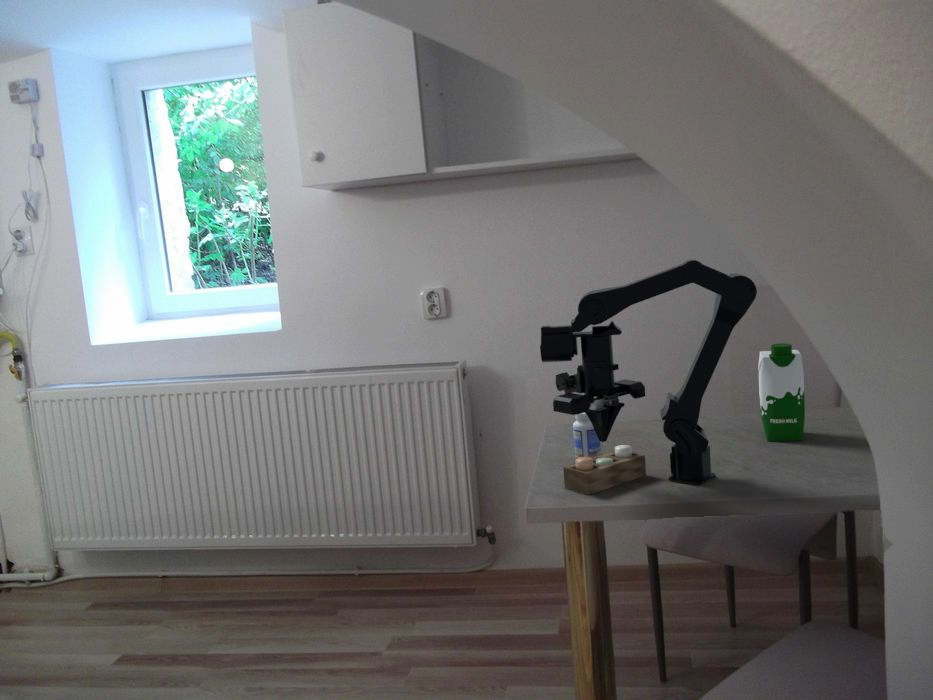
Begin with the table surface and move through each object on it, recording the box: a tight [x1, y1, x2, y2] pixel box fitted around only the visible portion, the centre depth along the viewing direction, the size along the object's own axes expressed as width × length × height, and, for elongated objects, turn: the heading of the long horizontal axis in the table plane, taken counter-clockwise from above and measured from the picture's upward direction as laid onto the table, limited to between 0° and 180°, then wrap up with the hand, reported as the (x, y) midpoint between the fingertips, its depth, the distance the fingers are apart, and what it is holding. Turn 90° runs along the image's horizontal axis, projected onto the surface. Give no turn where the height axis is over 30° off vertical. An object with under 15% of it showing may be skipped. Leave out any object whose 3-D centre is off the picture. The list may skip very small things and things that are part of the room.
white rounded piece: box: [614, 444, 633, 459], centre depth 161 cm, size 3×3×2 cm
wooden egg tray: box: [563, 450, 647, 496], centre depth 158 cm, size 15×6×4 cm, turn 125°
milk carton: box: [757, 342, 806, 442], centre depth 176 cm, size 9×9×20 cm
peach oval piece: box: [574, 457, 593, 472], centre depth 155 cm, size 3×3×2 cm
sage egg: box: [596, 458, 613, 465], centre depth 158 cm, size 3×3×2 cm
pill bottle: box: [572, 413, 602, 459], centre depth 175 cm, size 5×5×10 cm
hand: (602, 441), depth 157 cm, fingers closed
